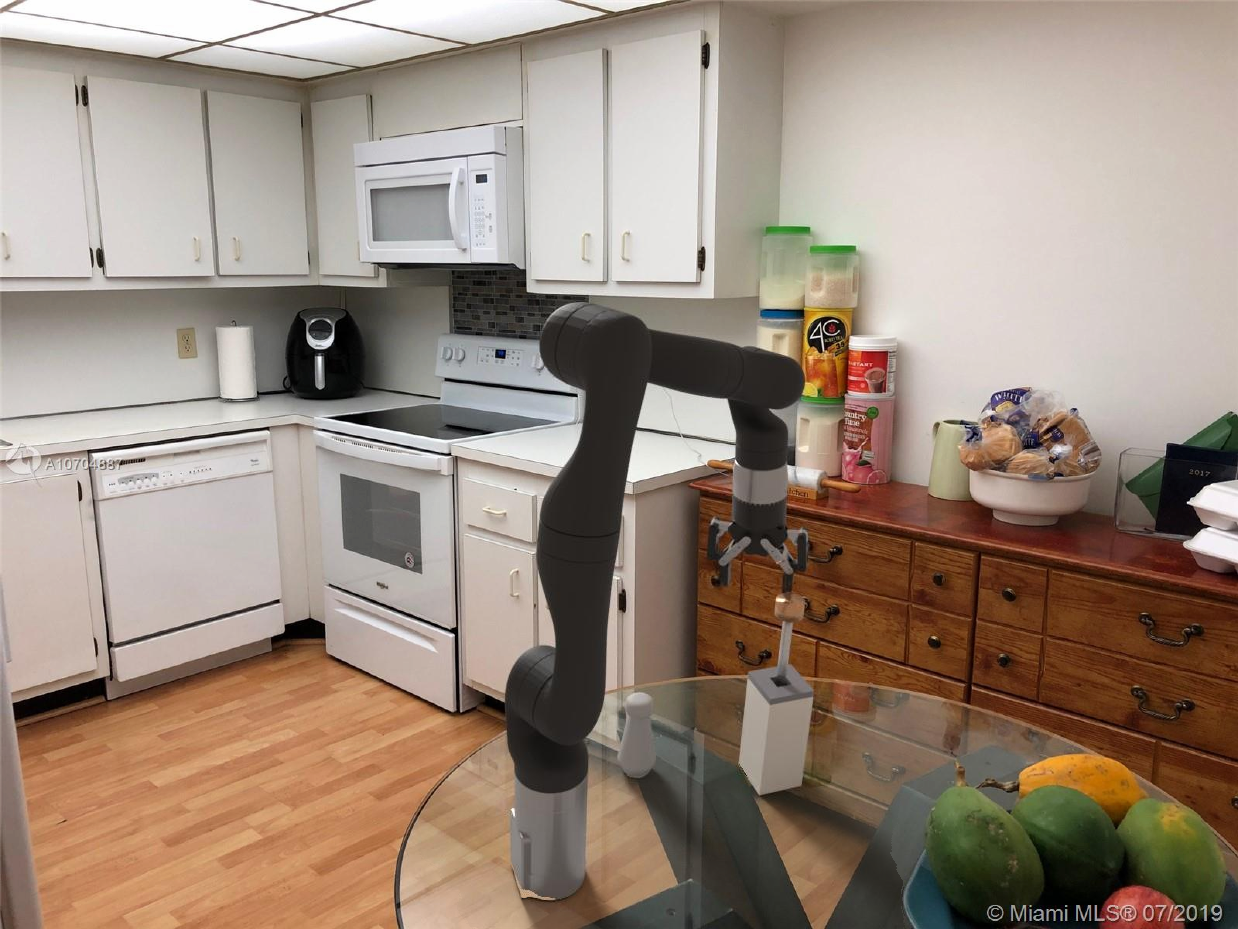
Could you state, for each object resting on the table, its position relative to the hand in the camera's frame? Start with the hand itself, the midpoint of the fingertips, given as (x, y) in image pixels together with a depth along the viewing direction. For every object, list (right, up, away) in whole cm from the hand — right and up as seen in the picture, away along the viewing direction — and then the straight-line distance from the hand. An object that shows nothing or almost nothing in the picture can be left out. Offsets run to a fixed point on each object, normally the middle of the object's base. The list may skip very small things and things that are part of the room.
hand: (755, 588), depth 141 cm
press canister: (+3, -29, +6) cm, 30 cm away
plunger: (+3, -17, +1) cm, 17 cm away
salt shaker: (-17, -28, +6) cm, 34 cm away
